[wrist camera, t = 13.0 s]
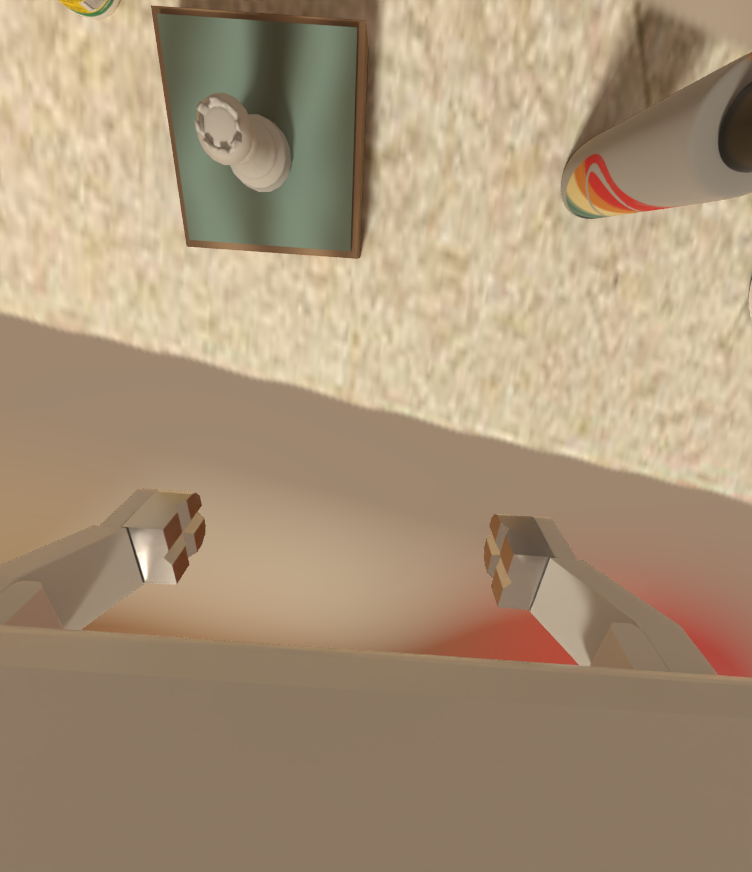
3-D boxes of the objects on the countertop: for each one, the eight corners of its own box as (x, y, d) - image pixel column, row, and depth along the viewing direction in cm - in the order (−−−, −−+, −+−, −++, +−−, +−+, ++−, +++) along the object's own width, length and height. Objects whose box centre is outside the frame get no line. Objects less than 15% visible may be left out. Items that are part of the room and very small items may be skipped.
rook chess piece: (260, 206, 29) (217, 193, 22) (219, 147, 27) (158, 111, 20) (305, 167, 28) (275, 138, 20) (265, 102, 26) (217, 47, 19)
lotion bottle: (569, 233, 32) (790, 214, 14) (550, 162, 30) (782, 37, 12) (638, 196, 31) (975, 125, 13) (623, 119, 29) (1003, -91, 11)
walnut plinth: (368, 47, 27) (365, 17, 24) (360, 257, 34) (356, 258, 30) (179, 33, 27) (147, 2, 24) (206, 246, 34) (184, 246, 30)
